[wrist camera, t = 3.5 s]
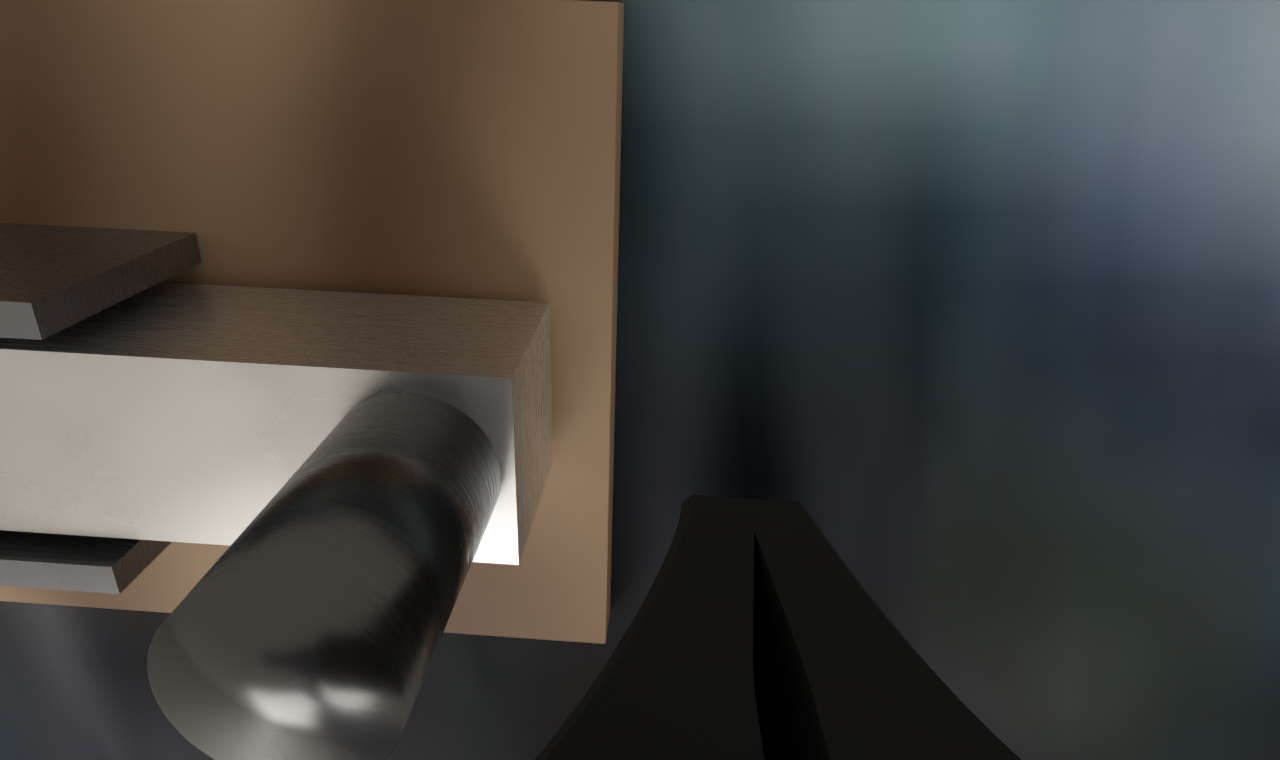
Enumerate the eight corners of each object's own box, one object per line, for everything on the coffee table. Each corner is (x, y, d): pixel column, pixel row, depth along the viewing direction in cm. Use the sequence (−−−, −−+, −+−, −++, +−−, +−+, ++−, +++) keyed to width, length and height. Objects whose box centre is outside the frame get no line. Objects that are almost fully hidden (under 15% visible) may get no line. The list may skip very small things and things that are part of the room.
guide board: (624, 3, 12) (618, 1, 11) (609, 610, 17) (605, 643, 16) (-578, -41, 13) (-672, -45, 12) (-258, 550, 18) (-307, 578, 17)
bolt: (550, 302, 13) (410, 575, 7) (552, 460, 14) (437, 817, 8) (-146, 266, 13) (-898, 486, 7) (-86, 421, 15) (-677, 726, 8)
